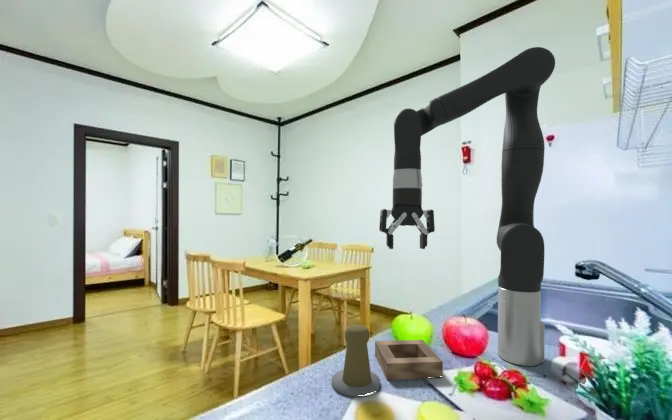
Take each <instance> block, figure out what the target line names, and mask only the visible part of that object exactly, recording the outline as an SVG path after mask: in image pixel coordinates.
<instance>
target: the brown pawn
mask: <svg viewBox="0 0 672 420" xmlns="http://www.w3.org/2000/svg"><path fill="white" fill-rule="evenodd" d="M370 334H371V333H370V331H369V328H368V327H367V326H365V325H362V324H351V325H349V326H347V327H346V328H345V330H344V339H345V341H346V348H345V349H346V350H345V356H344V365H343V369H342V370H343V378H342V379H343V382H344V383H345V384H347V385H349V386H352V387H364V386H367V385H369V384H370V383H371V372H372V371H371V365H370V357H369V356H370V355H369V350H368V349H369V348H368V342H369V341H370V337H371V335H370ZM370 371H371V372H370Z"/></svg>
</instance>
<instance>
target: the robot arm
mask: <svg viewBox="0 0 672 420" xmlns="http://www.w3.org/2000/svg"><path fill="white" fill-rule="evenodd" d="M555 67H556V59H555V55H554V54H553V52H552V51H550V49H547V48H545V47H541V46H534V47H530V48H527V49H525V50H523V51H521V52H520V53H519V54H517V55H515V56H514V57H512V58H510V59H509V60H507V62H505V63H503V64H501V65H500V66H498V67H497V68H494V69H493V70H491V71H489V72H487V73H486V74H484V75H482V76H480V77H477V78H476V79H474V80H472V81H470V82H468V83H466V84H463V85H462V86H460V87H457V88H455V89H453V90H451V91H449V92H446V93H444V94H442V95H439V96H437V97H434V98H433V99H432V100H430V101H429V102H427V103H426V105H425V106H423V107H421V108H419V109H418V110H415V109H413V108H404V109H402V110H400V111H399V112H398V113H397V114H396V115H395V117H394V121H393V136H394V137H393V139H394V153H393V154H394V155H393V177H392V208H391V209H386V208H382V209H381V210H380V215H379V229H378V230H379V232H382V233H384V234H385V235H386V247H388V249H390V250H394V232H395V231H396V229H397V228H398V227H400V226H401V227H403V226H404V227H406V226H409V227H410V226H411V227H412V226H413V227H414V226H415V228H417V230H418V231H419V248H420V249H421V250H425V249H426V248H427V247H428V235H429V234H430V233H435V229H436V227H435V214H434V213H435V212H434V209H426V210H425V209H424V210H423V208H422V205H423V202H422V201H423V200H422V199H423V195H422V193H423V192H422V191H423V177H422V154H421V153H422V152H421V143H422V142H421V141H422V136H424V135H426V134H428V133H429V132H431V131H432V130H434V129H436V128H437V127H440V126H442V125H445V124H447V123H450V122H453V121H455V120H457V119H459V118H461V117H463V116H466V115H467V114H469V113H471V112H472V111H474V110H476V109H477V108H479V107H481V106H483V105H484V104H486V103H487V102H490V101H492V100H493V99H495V98H497V97H499V96H501V95H504V100H505V122H504V130H503V138H502V139H503V140H502V153H501V177H500V178H501V179H500V180H501V209H500V218H499V224H498V227H497V228H498V230H497V233H496V245H497V248H498V249H499V251H500V269H499V270H500V271H499V273H498V277H497V356H498V357H499V358H501V359H502V360H504V361H506V362H509V363H511V364H515V365H517V366H518V365H519V366H525V367H534V366H538V365H540V364H541V363H545V354H546V353H545V349H546V348H545V341H546V340H545V339H546V338H545V336H546V334H545V332H546V331H545V330H546V329H545V325H546V324H545V322H544V321H542V319H541V318H542V316H541V315H542V311H541V308H542V307H541V306H542V305H541V299H542V298H541V297H542V296H541V295H542V293H541V290H542V282H543V280H544V276H545V275H544V274H545V273H544V272H545V271H544V270H545V241H544V237H543V235H542V233H541V232H540V230H539V229H537V228H536V227H535V226H534V205H535V200H536V197H537V193H538V190H539V187H540V184H541V181H542V176H543V172H544V167H545V166H544V165H545V148H546V147H545V138H544V135H543V131H542V129H541V124H540V122H539V118H538V117H539V116H538V103H539V96H540V95H539V94H540V91H541V88H542V86H543V85H544V84H545V83H546V82H547V81H548V80H549V79H550V77H551V75H552V74H553V72H554V70H555ZM390 215H391V216H392V218H393V220H392V221H391V223H390V225H388V227H387V221H388V219H389V218H390ZM422 216H424V218H426V219H425V220H426V223H425V224H426V226H425V225H424V223H423V221H421V218H422Z"/></svg>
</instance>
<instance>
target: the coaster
mask: <svg viewBox="0 0 672 420" xmlns="http://www.w3.org/2000/svg"><path fill="white" fill-rule="evenodd" d="M343 370H344V369H341V370H339V371H337V372H335V373H334V374H333V375H332V377H331V387H332V389H333V390H334V391H335V392H337V393H339V394H340V395H343V396H345V397H351V398H357V397H356V396H358V395H365V394H367V393H371V392H374V391H377V392H378V391H379V390H380V387H381V379H380V377H379V376H378V375H377V374H376V373H375V372H372V371H371V370H370V372H371V383H370V384H369V385H367V386H364V387H352V386H349V385H347V384H345V383H344V382H343V379H342V378H343Z"/></svg>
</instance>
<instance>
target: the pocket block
mask: <svg viewBox="0 0 672 420" xmlns="http://www.w3.org/2000/svg"><path fill="white" fill-rule="evenodd" d="M374 356H375V358H376V360H377V362H378V364H379V366H380V369H381V370H382V373H383V374H384V377H385V379H386V380H387V381H399V380H400V381H401V380H423V379H424V380H425V379H426V378H428V377H440V376H444V374H443V373H444V372H443V371H444V369H443V367H444V362H443V360H442V359H441V358H440V357H439V356H438V355H437V354H436V353H435V352H434V350H433V349H432V348H431V347H430V346H429V345H428V344H427V343H426V342H425V341H424V340H423V339H407V340H406V339H405V340H399V339H398V340H375V341H374Z"/></svg>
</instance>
